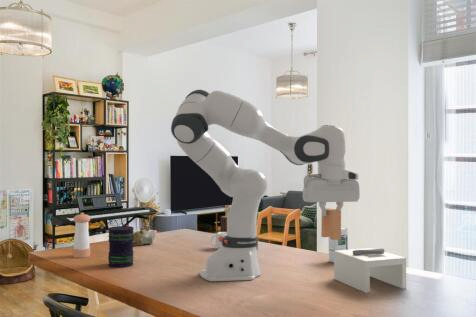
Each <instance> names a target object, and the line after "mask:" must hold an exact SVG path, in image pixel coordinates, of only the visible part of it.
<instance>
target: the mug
mask: <svg viewBox="0 0 476 317" xmlns="http://www.w3.org/2000/svg"><path fill="white" fill-rule="evenodd" d="M226 235H227V231H219V232H217V233H216V234H214V235H212V236H211V238H210V243H211V245H212V246H213V247H216V248H217V250H218V249H219V248H220V247H221V246H222V242H220V241H219V236H222V237H225V236H226ZM214 237H215V244H214V243H213V240H214Z"/></svg>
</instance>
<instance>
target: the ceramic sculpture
mask: <svg viewBox="0 0 476 317" xmlns="http://www.w3.org/2000/svg"><path fill="white" fill-rule="evenodd" d="M155 233H156V230H155V229H154V230H151V231H147V230H146V229H145V228H140V229H139V230H137V231H135V232H134V233H133V234H134V241H133V246H143V245H145V244H148V245H152V244H153V243H154V241H155V237H156V236H155V235H156V234H155Z"/></svg>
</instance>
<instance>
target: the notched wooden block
mask: <svg viewBox="0 0 476 317" xmlns="http://www.w3.org/2000/svg"><path fill="white" fill-rule="evenodd" d="M325 208H326V210H327V211H329V213H328V214H329V215H328V216H323V215H322V214H321V228H320V230H321V232H320V233H321V238H329V237H330V239H331V240H341V227H342V209H341V210H336V208H329V207H328V208H327V207H325Z"/></svg>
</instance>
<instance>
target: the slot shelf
mask: <svg viewBox="0 0 476 317" xmlns="http://www.w3.org/2000/svg"><path fill="white" fill-rule="evenodd" d="M370 277H371V278H374V279H376V280H379V281H382V282H383V283H387V284H389V285H392V286H394V287H396V288H400V289H404V290H405V289H407V257H405V256H401V255H397V254H393V253H390V252H386V251H385V248H383V247H382V248H372V247H367V248H366V247H364V248H353V249H348V250H337V251H334V263H333V279H334V280H336V281H338V282H341V283H343V284H345V285H346V286H349V287H352V288H353V289H356V290H359V291H360V292H362V293H365V294H367V293H368V294H369V293H371V284H370V283H371V278H370Z"/></svg>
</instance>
